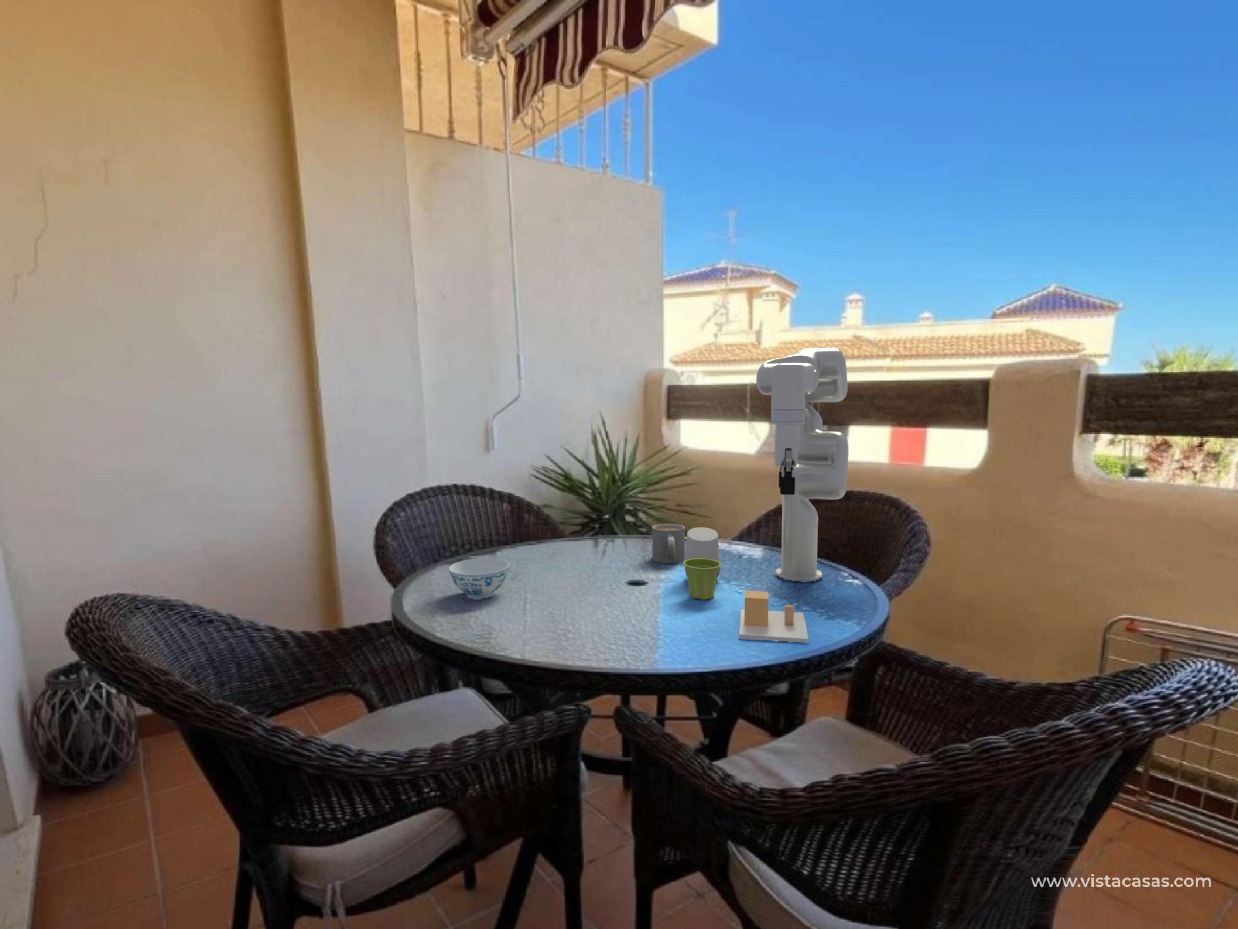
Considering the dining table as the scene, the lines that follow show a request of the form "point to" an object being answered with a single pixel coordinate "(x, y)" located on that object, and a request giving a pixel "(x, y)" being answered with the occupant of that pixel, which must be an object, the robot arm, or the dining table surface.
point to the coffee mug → (668, 543)
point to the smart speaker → (702, 544)
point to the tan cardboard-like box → (756, 608)
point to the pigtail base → (777, 627)
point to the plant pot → (701, 577)
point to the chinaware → (479, 576)
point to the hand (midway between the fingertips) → (786, 491)
